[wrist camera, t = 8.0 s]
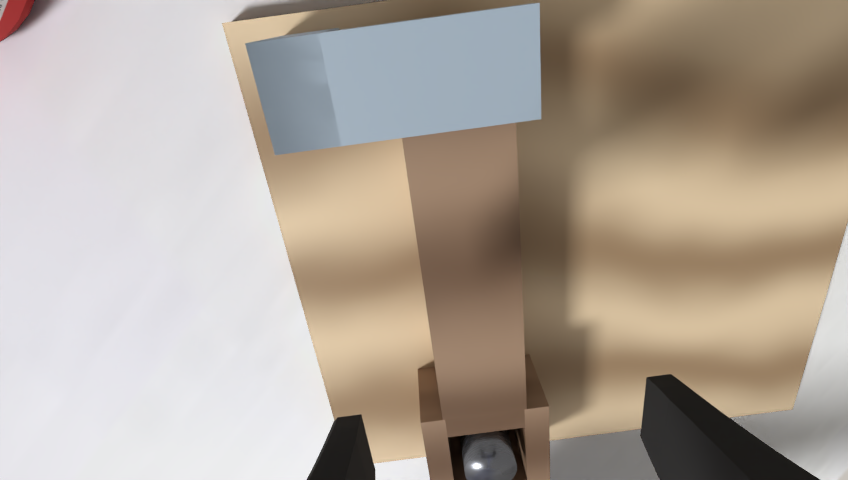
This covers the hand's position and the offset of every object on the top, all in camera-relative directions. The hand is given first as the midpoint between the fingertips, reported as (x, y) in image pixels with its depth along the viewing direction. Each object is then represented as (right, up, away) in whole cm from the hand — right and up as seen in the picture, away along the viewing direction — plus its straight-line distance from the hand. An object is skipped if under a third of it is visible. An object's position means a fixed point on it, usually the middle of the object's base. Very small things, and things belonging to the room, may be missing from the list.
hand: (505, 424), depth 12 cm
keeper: (-3, +11, +4) cm, 12 cm away
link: (0, +3, +8) cm, 9 cm away
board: (+4, +4, +8) cm, 10 cm away
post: (+1, -3, +12) cm, 12 cm away
